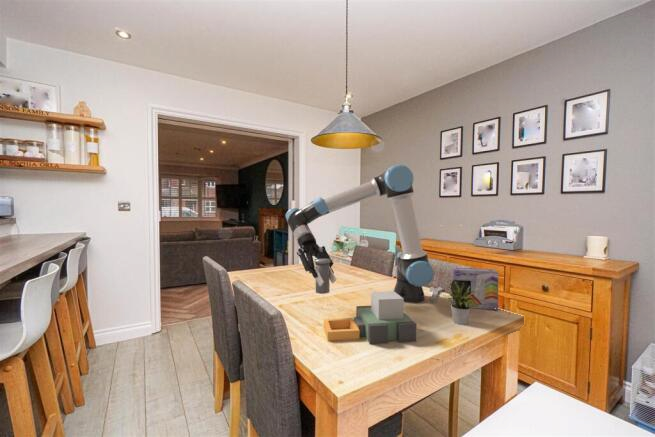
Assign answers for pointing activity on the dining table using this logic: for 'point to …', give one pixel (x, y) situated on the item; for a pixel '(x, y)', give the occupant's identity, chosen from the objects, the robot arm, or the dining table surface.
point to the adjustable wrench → (435, 293)
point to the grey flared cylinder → (323, 275)
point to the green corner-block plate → (375, 321)
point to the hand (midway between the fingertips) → (328, 282)
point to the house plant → (460, 305)
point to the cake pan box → (477, 286)
